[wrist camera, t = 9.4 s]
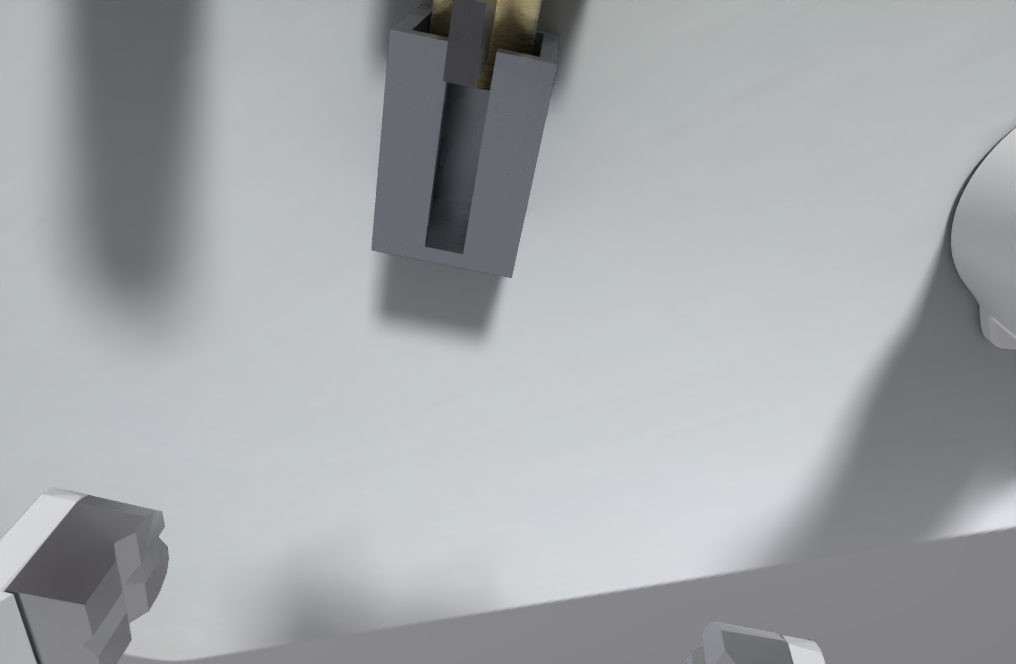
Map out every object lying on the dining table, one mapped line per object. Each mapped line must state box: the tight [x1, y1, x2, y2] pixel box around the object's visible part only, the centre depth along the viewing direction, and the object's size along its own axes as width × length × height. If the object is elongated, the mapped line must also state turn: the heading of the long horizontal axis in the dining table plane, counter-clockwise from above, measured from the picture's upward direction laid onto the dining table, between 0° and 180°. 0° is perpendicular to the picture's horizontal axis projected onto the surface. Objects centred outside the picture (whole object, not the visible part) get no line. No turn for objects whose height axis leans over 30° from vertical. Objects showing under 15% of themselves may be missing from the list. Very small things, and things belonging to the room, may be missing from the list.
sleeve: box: [372, 5, 559, 278], centre depth 36 cm, size 7×11×7 cm
